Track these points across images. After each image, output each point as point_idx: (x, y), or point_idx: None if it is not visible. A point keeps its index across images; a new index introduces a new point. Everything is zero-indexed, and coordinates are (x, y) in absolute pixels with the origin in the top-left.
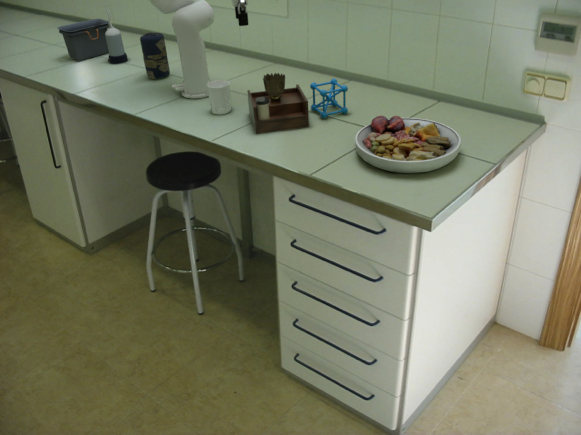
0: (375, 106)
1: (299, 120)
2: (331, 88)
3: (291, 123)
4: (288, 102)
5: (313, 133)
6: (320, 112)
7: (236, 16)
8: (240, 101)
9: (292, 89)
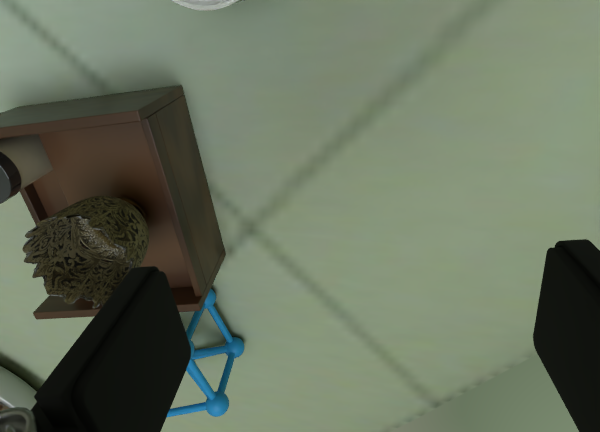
0: (225, 415)
1: None
2: (197, 383)
3: None
4: None
5: None
6: None
7: (562, 266)
8: (342, 42)
9: (192, 281)
